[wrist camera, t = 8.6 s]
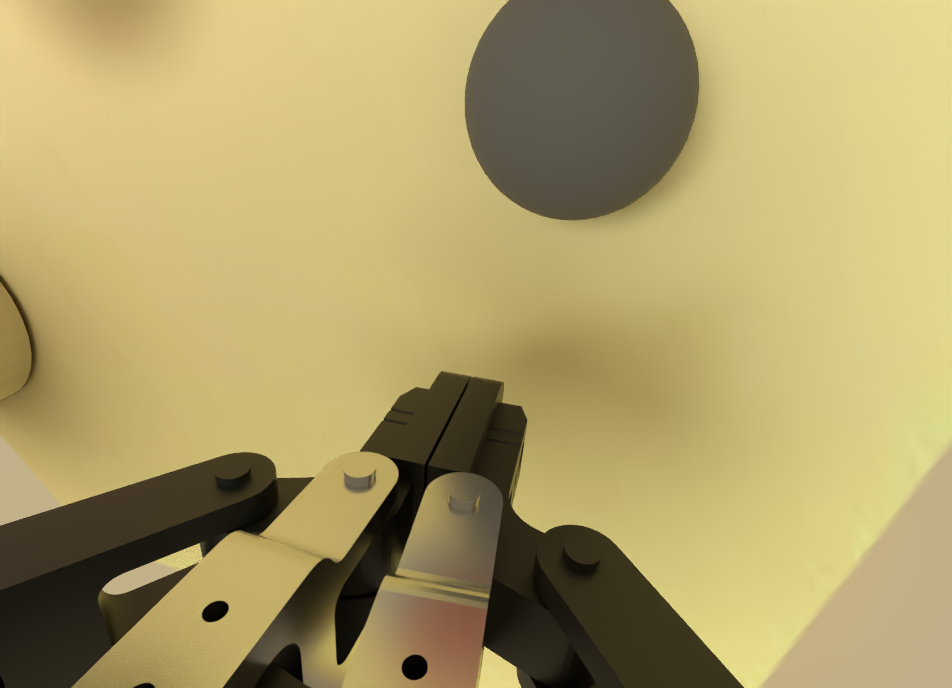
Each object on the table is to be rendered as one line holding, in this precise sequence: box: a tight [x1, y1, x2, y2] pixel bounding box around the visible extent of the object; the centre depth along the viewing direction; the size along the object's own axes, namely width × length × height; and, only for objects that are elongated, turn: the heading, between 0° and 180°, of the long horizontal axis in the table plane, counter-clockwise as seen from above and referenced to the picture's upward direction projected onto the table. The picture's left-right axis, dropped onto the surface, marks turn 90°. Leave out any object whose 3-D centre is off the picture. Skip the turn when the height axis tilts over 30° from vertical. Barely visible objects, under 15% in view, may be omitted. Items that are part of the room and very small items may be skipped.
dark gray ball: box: [465, 0, 699, 220], centre depth 13 cm, size 6×6×6 cm
